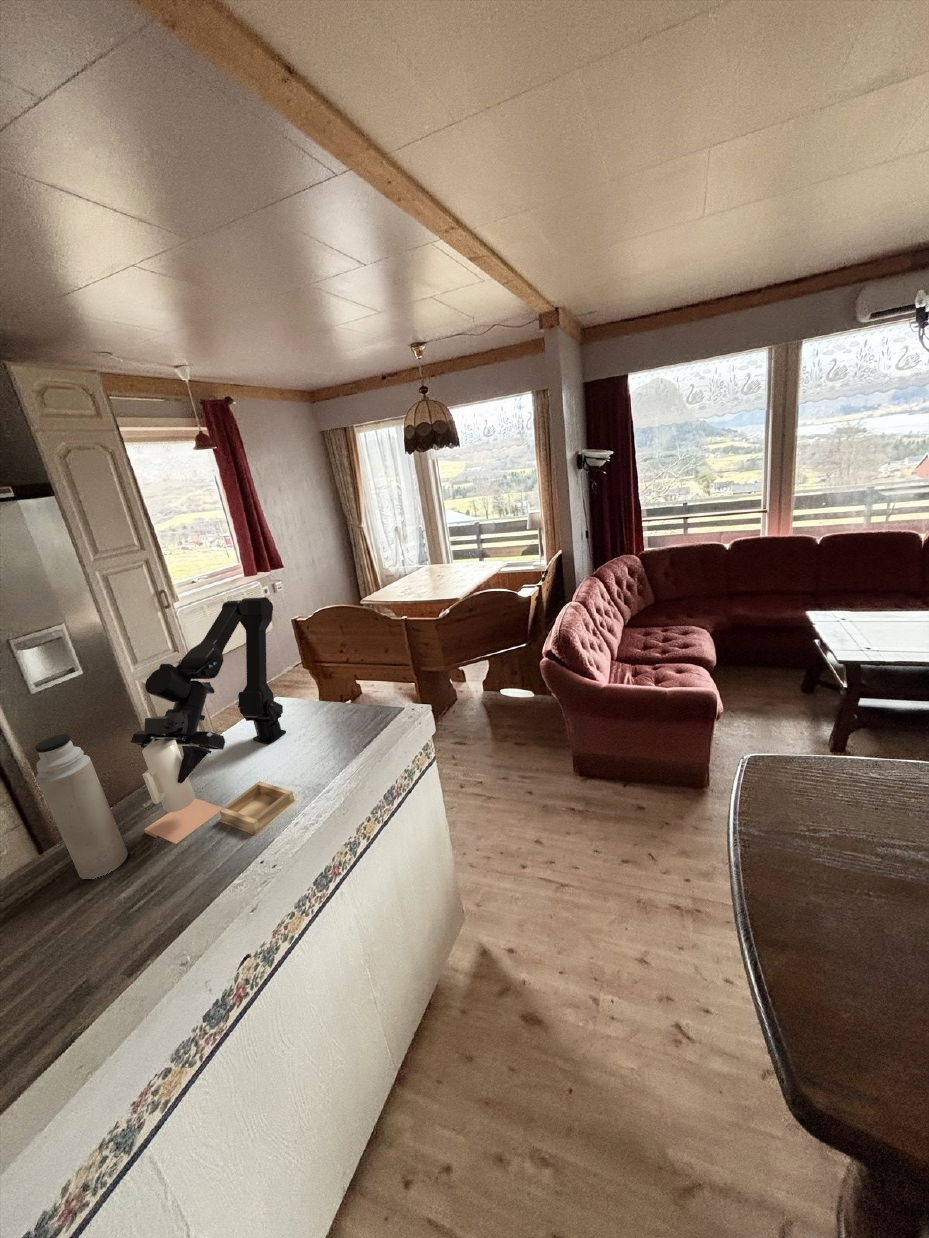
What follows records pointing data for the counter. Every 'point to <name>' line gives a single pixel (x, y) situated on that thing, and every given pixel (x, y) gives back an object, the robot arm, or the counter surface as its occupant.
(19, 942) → the counter surface
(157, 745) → the jug
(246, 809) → the holder
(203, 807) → the tile
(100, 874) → the thermos bottle
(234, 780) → the counter surface
